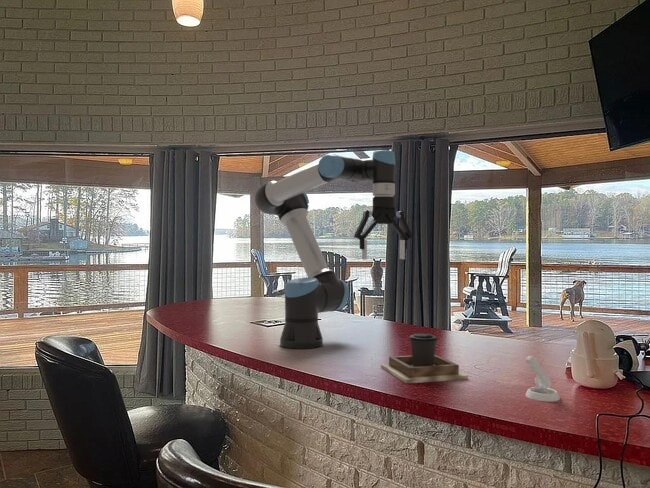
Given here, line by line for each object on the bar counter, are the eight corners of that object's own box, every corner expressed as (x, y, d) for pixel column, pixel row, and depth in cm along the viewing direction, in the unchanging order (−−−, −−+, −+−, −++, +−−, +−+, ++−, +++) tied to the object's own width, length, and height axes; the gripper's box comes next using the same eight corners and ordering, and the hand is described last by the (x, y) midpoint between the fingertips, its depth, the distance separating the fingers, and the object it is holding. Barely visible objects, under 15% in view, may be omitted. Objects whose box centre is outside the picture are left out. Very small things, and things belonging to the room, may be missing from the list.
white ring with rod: (501, 373, 132) (517, 355, 135) (529, 412, 133) (545, 393, 136) (522, 374, 125) (539, 354, 128) (552, 414, 126) (568, 394, 129)
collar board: (406, 383, 142) (406, 370, 142) (381, 367, 159) (381, 355, 159) (467, 379, 147) (468, 366, 146) (437, 364, 164) (437, 352, 164)
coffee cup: (431, 374, 147) (431, 337, 147) (403, 370, 152) (404, 334, 151) (442, 368, 154) (442, 333, 154) (415, 364, 158) (415, 330, 158)
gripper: (352, 194, 178) (351, 259, 178) (422, 196, 184) (422, 259, 184) (345, 196, 185) (345, 259, 185) (413, 198, 191) (412, 258, 192)
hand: (383, 259), depth 185 cm, fingers open, 13 cm apart
